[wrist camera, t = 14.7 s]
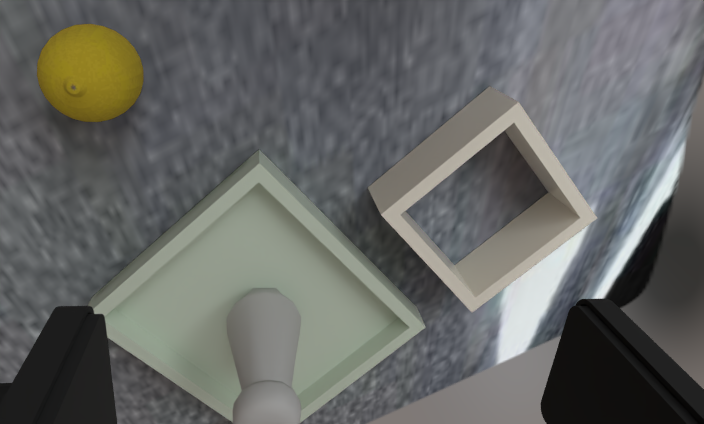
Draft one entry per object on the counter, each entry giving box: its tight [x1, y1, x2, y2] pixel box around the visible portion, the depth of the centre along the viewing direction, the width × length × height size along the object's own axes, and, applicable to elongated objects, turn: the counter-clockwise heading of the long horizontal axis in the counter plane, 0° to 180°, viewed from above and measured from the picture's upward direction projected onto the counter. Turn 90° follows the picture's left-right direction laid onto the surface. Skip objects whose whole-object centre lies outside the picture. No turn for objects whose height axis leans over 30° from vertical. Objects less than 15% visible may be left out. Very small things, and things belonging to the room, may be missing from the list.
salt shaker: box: [227, 288, 301, 424], centre depth 39 cm, size 6×6×13 cm
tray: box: [88, 150, 425, 423], centre depth 44 cm, size 18×20×3 cm
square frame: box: [368, 86, 597, 312], centre depth 42 cm, size 12×12×5 cm
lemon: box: [37, 24, 143, 122], centre depth 32 cm, size 6×6×8 cm
